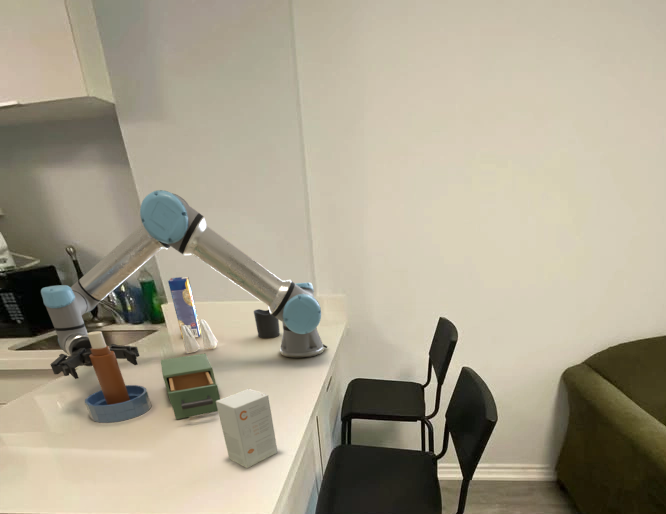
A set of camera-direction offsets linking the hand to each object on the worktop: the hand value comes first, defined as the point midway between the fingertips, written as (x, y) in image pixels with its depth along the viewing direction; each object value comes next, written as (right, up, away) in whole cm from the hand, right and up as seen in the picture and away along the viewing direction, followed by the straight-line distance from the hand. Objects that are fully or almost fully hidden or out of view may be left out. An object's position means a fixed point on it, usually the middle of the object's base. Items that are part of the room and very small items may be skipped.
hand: (106, 366), depth 104 cm
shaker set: (+3, +19, +56) cm, 59 cm away
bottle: (0, -10, +6) cm, 12 cm away
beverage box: (-9, +31, +77) cm, 84 cm away
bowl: (0, -11, +7) cm, 13 cm away
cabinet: (+14, -3, +18) cm, 23 cm away
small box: (+40, -23, -16) cm, 49 cm away
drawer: (+20, -9, +6) cm, 23 cm away
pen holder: (+25, +29, +71) cm, 80 cm away
